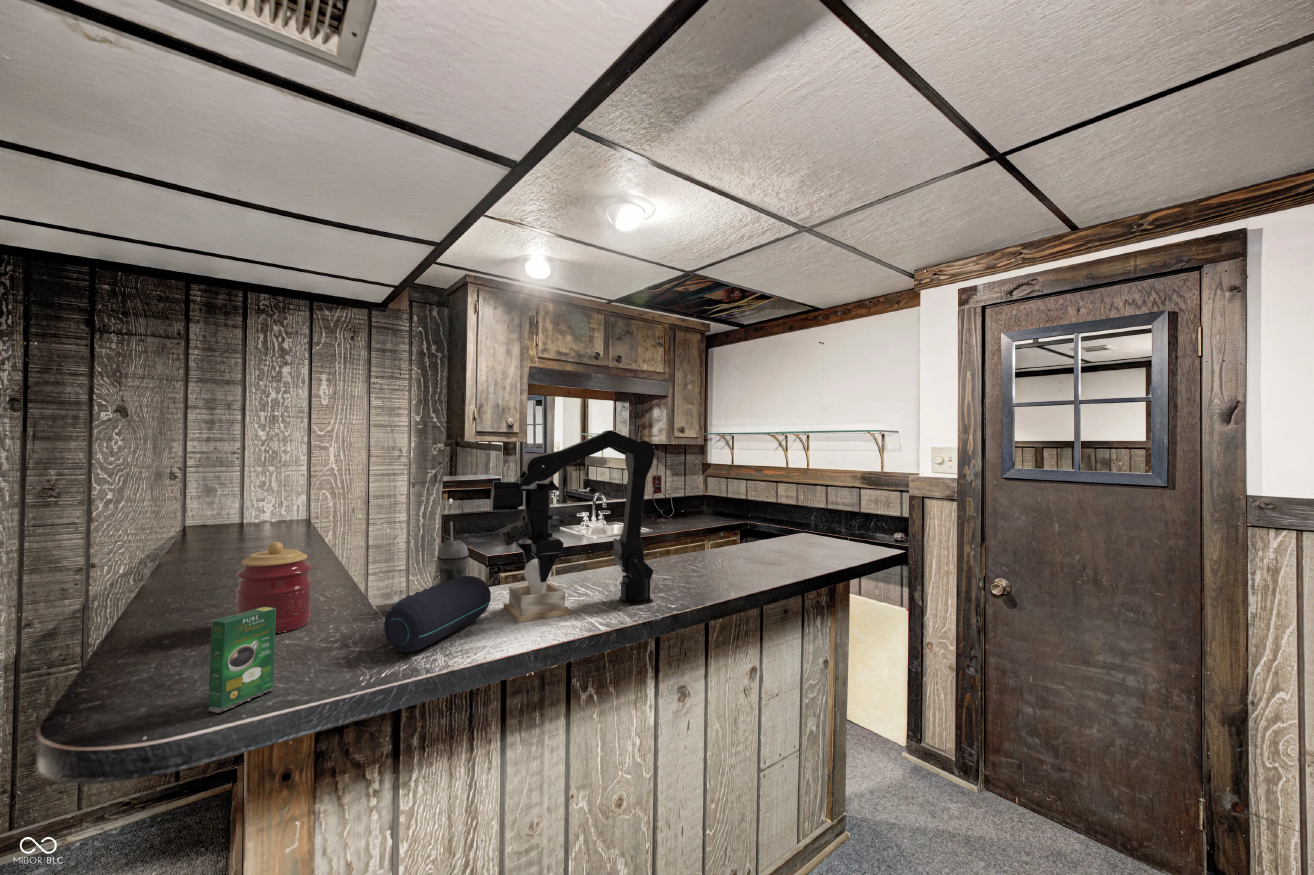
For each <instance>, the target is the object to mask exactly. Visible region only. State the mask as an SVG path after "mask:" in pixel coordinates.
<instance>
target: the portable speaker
mask: <svg viewBox="0 0 1314 875" xmlns="http://www.w3.org/2000/svg"><path fill="white" fill-rule="evenodd" d="M491 599H492V591H491V590H490V587H489V585H488V584H487V583H486V582H485V581H484V580H483V579H482V578H480V577H477V576H474V575H466V576H460V577H457V578H454V579H452V580H449V581H445V582H444V583H442V584H441V583H440V582H439V583H438V584H437V585H432V586H430V587H428V588H424V589H422V590H421V591H416V592H415V593H414V594H411V595H410V594H409V595H407V596H405V597H403V598H401V599H400V600H398V601H396V602H395V603H394V604H393V605H392V606H391V607H390V608H389V609H388V611H387V613H386V615H385V618H384V622H383V630H384V635H385V636H386V639H387V641H388V643H390V646H392V647H393V648H394V649H396V650H397V651H399V652H401V653H414V652H418V651H419V650H422V649H424V648H426V647H427V646H428V647H429V646H430V645H432V644H433V643H435V642H437V641H439V640H441V639H443V638H444V637H447V636H448V635H450V634H452V633H454V632H456V631H458V630H460V629H461V628H463V627H465V626H467V625H469V624H471V623H473V622H474V621H476V620H477V619H478V618H480V617H481V616H482V615H484V613H486V611H487V610H488V608H489V606H490V604H491Z"/></svg>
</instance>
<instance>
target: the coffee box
mask: <svg viewBox="0 0 1314 875" xmlns="http://www.w3.org/2000/svg"><path fill="white" fill-rule="evenodd" d="M275 620H276V608H272V607H260V608H257V609H253V610H249V611H246V612H242V613H238V614H236V613H235V614H232V615H228V616H227V615H226V616H224V617H221V618H215V619H212V620H211V638H210V659H209V680H208V681H209V682H208V706H209V707H216V708H224V707H227V706H229V705H232V704H234V703H236V702H239V701H241V700H243V699H246V698H248V697H251V696H254V695H256V694H258V693H261V692H264V691H265V690H269V689H271V688H273V689H274V680H275V676H274V671H275V670H274V668H275V649H276V648H275V645H276V644H275V643H276V641H275V640H276V634H275Z"/></svg>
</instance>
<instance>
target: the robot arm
mask: <svg viewBox="0 0 1314 875" xmlns="http://www.w3.org/2000/svg"><path fill="white" fill-rule="evenodd" d="M609 448H610V449H612V450H613V451H615V452H616V453H617V452H618V453H619V454H622V455H623V456H624V459H625V460H624V461H625V467H626V471H627V477H628V478H627V486H626V496H625V497H626V498H625V503H624V504H625V505H624V516H623V524H622V525H623V526H622V532H621V535H620V536H619V539H618V538H613V549H612V552H611V556H613V560H614V563H615V564H616V565H617V566H618V567H619V568H620V569H621V572H622V573H623V574H625V575H622V580H621V582H620V596H619V597H618V599H619V600H620V601H622V602H624V603H626V604H627V605H629V606H637V605H641V604H647V603H653V602H654V598H651V579H652V577H653V573H654V570H653V569H652V568H651V566H649V564H648V563H646V562H645V551H644V549H645V548H644V544H643V541H642V540H643V539H642V535H641V533H642V525H643V524H642V523H643V513H644V504H645V493H646V483H647V478H648V475H649V473H650V471H651V468H652V467H653V463H654V459H655V455H656V448H655V446H654V445H653V444H652V443H651V442H650V441H648V440H636V439H635V438H632V437H630V436H626V435H624V434H621V433H619V432H617V431H615V430H610V429H608V430H603V432H601V433H599V434H597V435H594V436H592V437H590V438H587V439H584V440H582V441H580V442H577V443H575V444H571V445H570V446H567V447H564V448H562V449H560V450H557V451H551V452H546V453H541V454H537V455H532V456H530V457H528V458H527V459H526V460H525V462H524V465H523V466H524V467H523V471H522V473H521V474H520V475H519V476H518V477H517V479H516V480H515V481H499V480H493V481H492V487H491V494H490V495H491V496H490V511H491V512H513V511H514V512H516V511H517V512H518V511H519V510H518V509H519V508H522V507H523V505H524V513H521V515H520V520H519V521H517V522H514V523H511V524H509V525H507V526H504V527H502V528H500V529H498V533H499V536H500V539H501V542H502V544H504V545H505V546H511V545H514V544H515V546H517V547H518V548H519V549H520V550H521V551H522V554H523V558H524V563H525V566H526V565H527V564H528V563H529V562H530V561H531V560H533V559H537V560H538V568H539V576H540V581H541V582H546V580H547V578H548V576H549V574H550V571H551V572H552V569H553V567H554V565H555V563H556V562H557V560H558V558H559V556H560V555H562V554H561V553H563V552H564V542H563V541H562V540H561V539H560V538H558V537H556V536H553V532H551V530H550V529H551V524H550V523H551V520H554V519H553V518H554V516H553V514H551V492H552V491H559V490H560V487H559V486H557V485H556V484H555V482H554V481H553V479H550V478H551V477H553V476H555V475H556V474H557V473H559V472H560V471H561V470H562V469H564V468H565V467H567V466H569V465H570V464H573V463H575V462H579V461H580V460H583V459H586V458H587V457H590V456H593V455H595V454H597V453H599V452H602V451H604V450H607V449H609ZM548 479H549V480H548ZM546 480H548V481H547V482H544V481H546ZM536 482H539V483H536ZM540 482H541V483H540ZM533 484H534V485H533ZM532 485H533V486H532ZM530 486H532V487H530Z"/></svg>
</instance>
